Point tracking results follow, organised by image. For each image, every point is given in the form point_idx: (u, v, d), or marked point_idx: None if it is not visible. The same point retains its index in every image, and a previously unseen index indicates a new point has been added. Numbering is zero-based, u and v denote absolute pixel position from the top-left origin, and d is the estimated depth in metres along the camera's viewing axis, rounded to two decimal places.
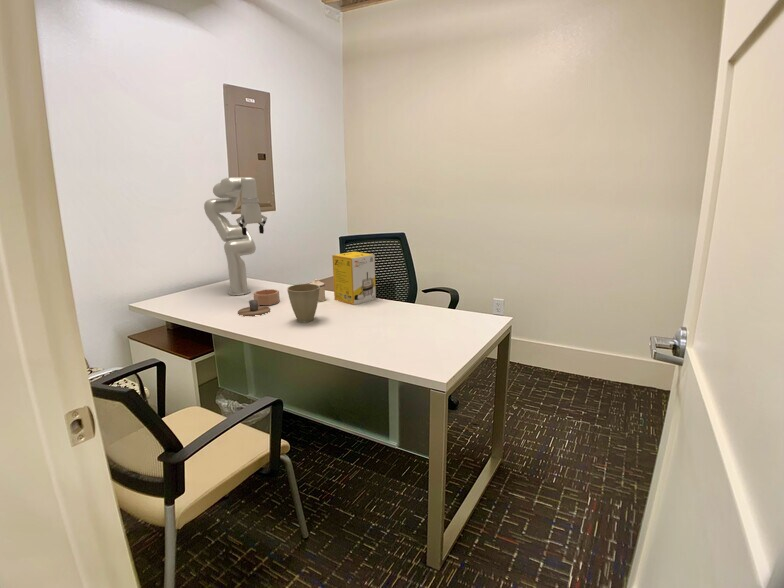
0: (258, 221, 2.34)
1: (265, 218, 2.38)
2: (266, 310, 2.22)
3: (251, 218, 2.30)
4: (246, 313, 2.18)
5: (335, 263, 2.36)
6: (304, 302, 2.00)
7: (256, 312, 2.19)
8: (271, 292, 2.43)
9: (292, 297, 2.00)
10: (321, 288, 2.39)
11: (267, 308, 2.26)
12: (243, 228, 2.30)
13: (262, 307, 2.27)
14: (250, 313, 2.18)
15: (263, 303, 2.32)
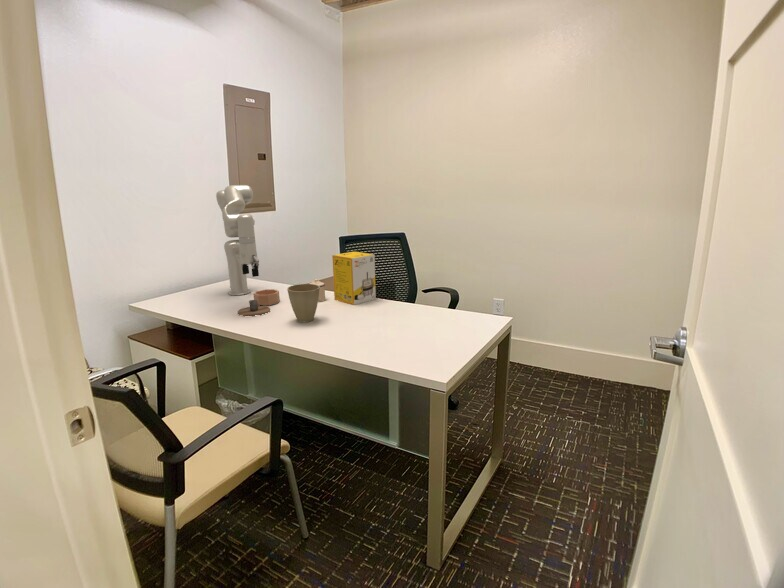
0: None
1: None
2: (266, 310, 2.22)
3: None
4: (246, 313, 2.18)
5: (335, 263, 2.36)
6: (304, 302, 2.00)
7: (256, 312, 2.19)
8: (271, 292, 2.43)
9: (292, 297, 2.00)
10: (321, 288, 2.39)
11: (267, 308, 2.26)
12: (257, 268, 2.14)
13: (262, 307, 2.27)
14: (250, 313, 2.18)
15: (263, 303, 2.32)
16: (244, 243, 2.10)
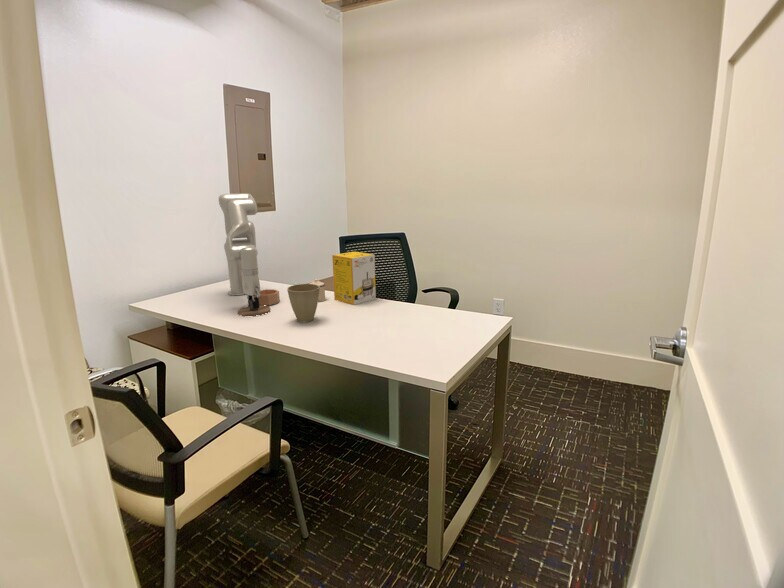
0: None
1: None
2: (266, 309, 2.22)
3: None
4: (246, 312, 2.18)
5: (335, 263, 2.36)
6: (304, 302, 2.00)
7: (256, 311, 2.19)
8: (271, 292, 2.43)
9: (292, 297, 2.00)
10: (321, 288, 2.39)
11: (267, 307, 2.25)
12: (257, 301, 2.20)
13: (262, 307, 2.27)
14: (250, 312, 2.17)
15: (263, 303, 2.32)
16: (247, 275, 2.14)
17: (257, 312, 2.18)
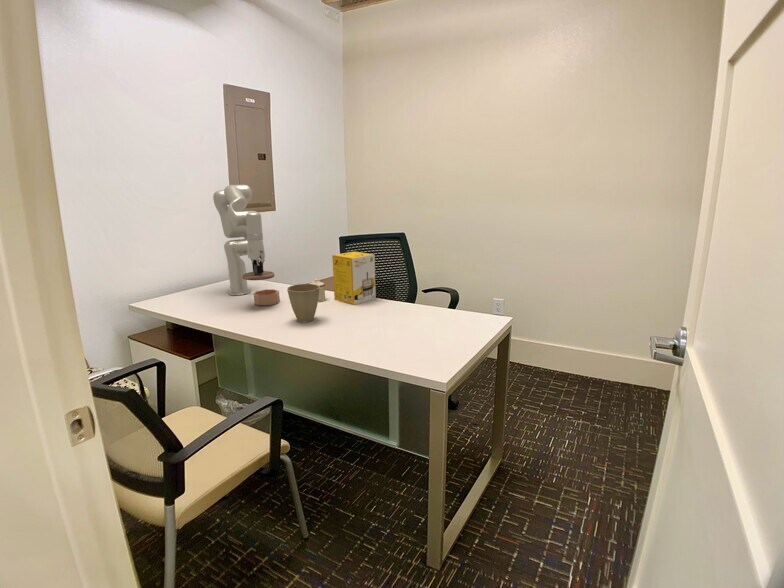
0: None
1: None
2: (270, 274, 2.27)
3: None
4: (250, 276, 2.23)
5: (335, 263, 2.36)
6: (304, 302, 2.00)
7: (260, 276, 2.24)
8: (271, 292, 2.43)
9: (292, 297, 2.00)
10: (321, 288, 2.39)
11: (271, 273, 2.30)
12: (262, 266, 2.25)
13: (266, 272, 2.32)
14: (254, 276, 2.23)
15: (263, 303, 2.32)
16: (252, 239, 2.19)
17: (261, 276, 2.23)
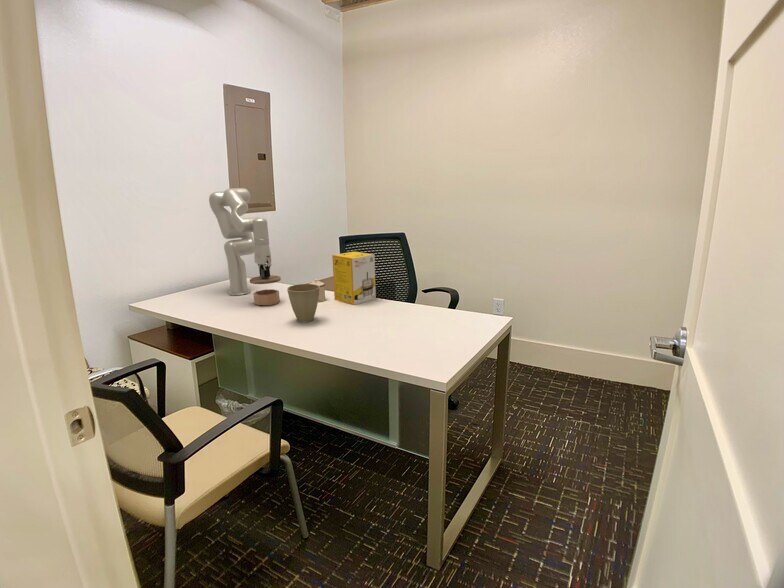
0: None
1: None
2: (276, 278, 2.34)
3: None
4: (257, 280, 2.31)
5: (335, 263, 2.36)
6: (304, 302, 2.00)
7: (267, 280, 2.31)
8: (271, 292, 2.43)
9: (292, 297, 2.00)
10: (321, 288, 2.39)
11: (277, 277, 2.38)
12: (268, 270, 2.32)
13: (273, 276, 2.39)
14: (261, 280, 2.30)
15: (263, 303, 2.32)
16: (259, 245, 2.27)
17: (268, 280, 2.30)
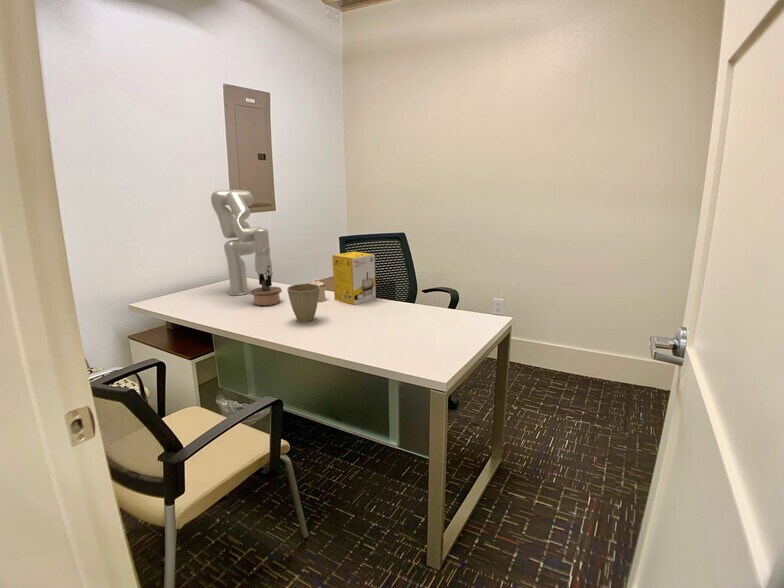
0: None
1: None
2: (277, 290, 2.36)
3: None
4: (258, 292, 2.33)
5: (335, 263, 2.36)
6: (304, 302, 2.00)
7: (268, 291, 2.33)
8: None
9: (292, 297, 2.00)
10: (321, 288, 2.39)
11: (278, 288, 2.40)
12: (270, 279, 2.33)
13: (273, 288, 2.41)
14: (262, 292, 2.32)
15: (263, 303, 2.32)
16: (260, 255, 2.28)
17: (269, 292, 2.32)
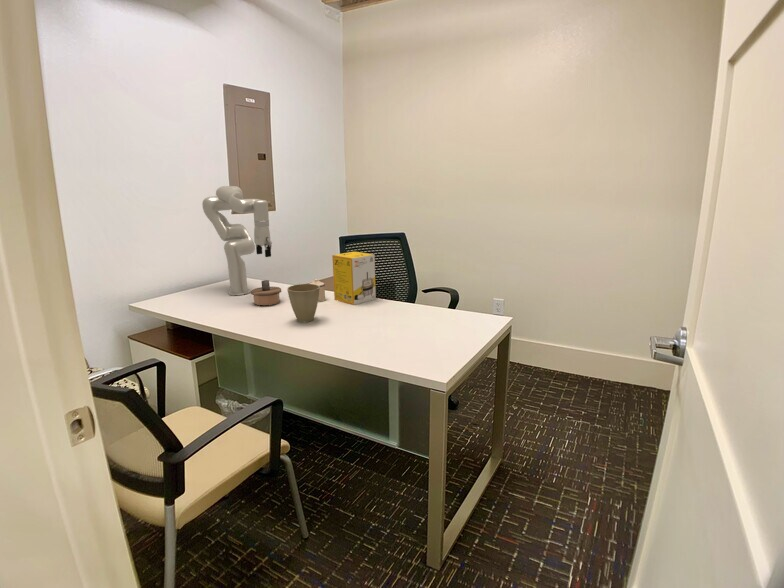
0: None
1: None
2: (277, 290, 2.36)
3: None
4: (258, 292, 2.33)
5: (335, 263, 2.36)
6: (304, 302, 2.00)
7: (268, 291, 2.33)
8: None
9: (292, 297, 2.00)
10: (321, 288, 2.39)
11: (278, 288, 2.40)
12: (269, 250, 2.34)
13: (273, 288, 2.41)
14: (262, 292, 2.32)
15: (263, 303, 2.32)
16: (259, 226, 2.30)
17: (269, 292, 2.32)
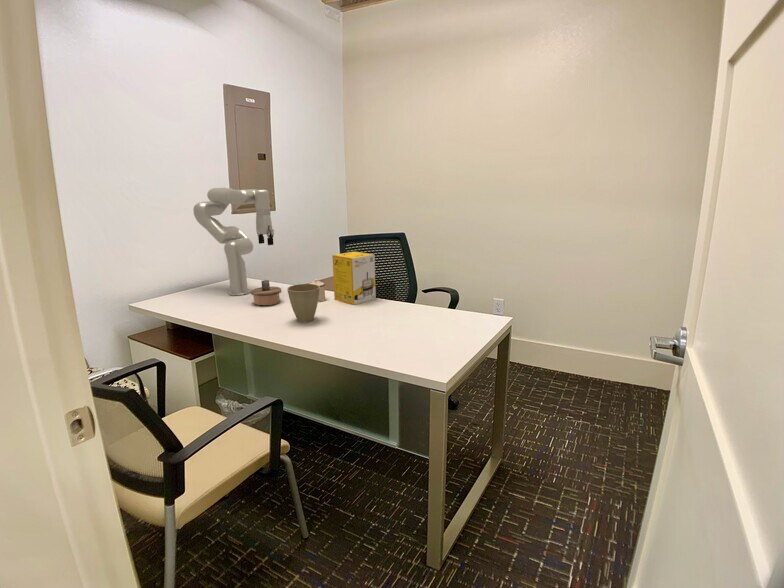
0: None
1: None
2: (277, 290, 2.36)
3: None
4: (258, 292, 2.33)
5: (335, 263, 2.36)
6: (304, 302, 2.00)
7: (268, 291, 2.33)
8: None
9: (292, 297, 2.00)
10: (321, 288, 2.39)
11: (278, 288, 2.40)
12: (272, 238, 2.39)
13: (273, 288, 2.41)
14: (262, 292, 2.32)
15: (263, 303, 2.32)
16: (261, 215, 2.36)
17: (269, 292, 2.32)
